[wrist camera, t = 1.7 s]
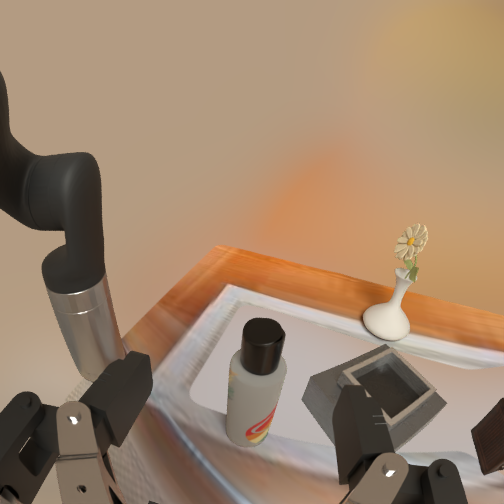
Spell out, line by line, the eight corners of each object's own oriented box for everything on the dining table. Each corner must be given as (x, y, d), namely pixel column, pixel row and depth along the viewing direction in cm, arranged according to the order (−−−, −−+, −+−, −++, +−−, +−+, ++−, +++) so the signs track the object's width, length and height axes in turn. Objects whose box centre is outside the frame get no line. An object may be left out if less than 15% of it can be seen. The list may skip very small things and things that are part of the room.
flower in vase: (365, 307, 62) (396, 205, 51) (408, 321, 57) (445, 222, 46) (353, 339, 52) (394, 221, 41) (404, 357, 47) (455, 242, 36)
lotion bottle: (275, 436, 32) (310, 335, 24) (240, 454, 29) (257, 360, 21) (252, 409, 36) (270, 302, 28) (218, 424, 33) (220, 319, 25)
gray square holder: (301, 399, 38) (315, 364, 35) (373, 366, 45) (391, 331, 41) (358, 477, 26) (388, 452, 22) (428, 424, 32) (456, 392, 28)
